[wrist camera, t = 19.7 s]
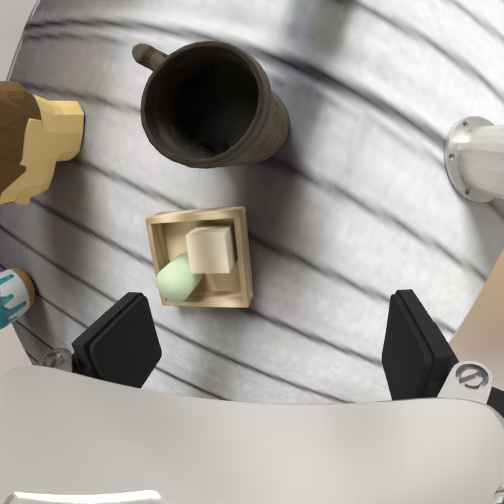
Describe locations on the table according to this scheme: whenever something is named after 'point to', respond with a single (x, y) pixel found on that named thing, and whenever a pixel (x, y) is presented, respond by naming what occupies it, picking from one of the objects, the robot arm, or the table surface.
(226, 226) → the cream block
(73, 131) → the head
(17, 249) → the table surface
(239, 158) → the beer stein
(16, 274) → the vase
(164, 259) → the box
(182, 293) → the green cylinder
